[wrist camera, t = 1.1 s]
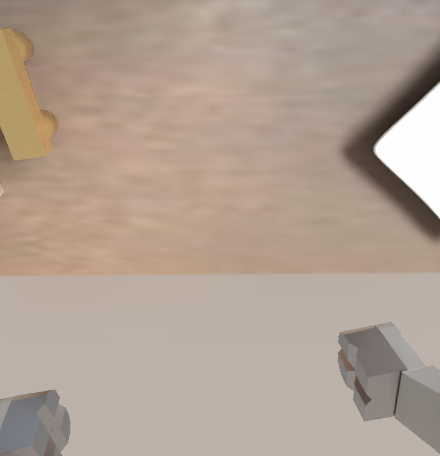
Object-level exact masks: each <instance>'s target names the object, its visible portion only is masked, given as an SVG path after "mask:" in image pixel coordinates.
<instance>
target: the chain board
mask: <svg viewBox="0 0 440 456" xmlns="http://www.w3.org/2000/svg"><path fill="white" fill-rule="evenodd" d="M3 193H4V190H3V188H2V185H1V183H0V196H1V195H2V194H3Z"/></svg>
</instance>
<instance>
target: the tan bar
mask: <svg viewBox="0 0 440 456" xmlns="http://www.w3.org/2000/svg"><path fill="white" fill-rule="evenodd" d="M32 55H33V46H32V43H31V41H30V40H29V38H28V37H27V36H26V35H24V34H23V33H21V32H18V31H13V30H12V28H6V29H0V127H1V130H2V132H3V135H4V137H5V139H6V142H7V144H8V147H9V149H10V152H11V154H12V157H13V159H14V161H17V160H23V159H30V158H37V157H43V156H47V155H48V153H49V152H50V151H51V150H52V149H53V146H52V143H51V140H50V138H51V137H52V136H53V135H54V133H55V132H56V131H57V129H58V122H57V119H56V118H55V116H54V115H53V114H51V113H50V112H48V111H45V110H40V108H39V105H38V102H37V99H36V96H35V93H34V91H33V88H32V85H31V82H30V79H29V76H28V73H27V70H26V67H25V64H24V62H26V61H28V60H29V59H30V58H31V57H32Z"/></svg>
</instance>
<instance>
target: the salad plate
mask: <svg viewBox="0 0 440 456" xmlns="http://www.w3.org/2000/svg"><path fill="white" fill-rule="evenodd" d="M373 152H374V154H375V155H376V156H377V158H378V159H379V160H380V161H381V162H382V163H383V164H384V165H385V166H386V167H388V168H389V169H390V170H391V171H392V172H393V173H394V174H395V175H396V176H397V177H398V178H400V179H401V180H402V181H403V182H404V183H405V184H406V185H407V186H408V187H409V188H410V189H411V190H412V191H413V192H414V193H415V194H416V195H417V196H418V197H419V198H420V199H421V200H422V201H423V202H424V203H425V204H426V205H427V206H428V207H429V208H430V209H431V210H432V211H433V212H434V213H435V215H436V216H437V217H438V218H439V219H440V81H439V82H438V83H437V84H436V85H435V86H434V87H433V88H432V89H431V90H430V91H429V92H428V93H427V94H426V95H425V96H424V97H423V98H422V99H421V100H420V101H419V102H417V103H416V104H415V105H414V106H413V107H412V108H411V109H410V110H409V111H408V112H407V113H406V114H405V115H403V116H402V117H401V118H400V119H399V120H398V121H397V122H396V123H395V124H394V125H392V126H391V127H390V128H389V129H388V130H387V131H386V132H385V133H384V134H383V135H382V136H381V137H380V138H379V139H378V141H377V142H376V143H375V145H374V147H373Z"/></svg>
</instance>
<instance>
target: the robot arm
mask: <svg viewBox="0 0 440 456" xmlns="http://www.w3.org/2000/svg"><path fill="white" fill-rule="evenodd" d="M338 342H339V344H340V346H341V348H342V349H341V350H340V351H339V353H338V362H339V368H340V372H341V375H342V377H343V379H344V382H345V384H346V385H347V387H349V388H350V389H352V390H353V391H354V397H353V400H354V402H355V404H356V406H357V408H358V410H359V412H360V414H361V416H362V418H363V420H364V421H369V420H375V419H380V418H386V417H392V416H395V418H396V419H397V420H398V421H399V422H401V423H402V424H403V425H405V426H406V427H407V428H408V429H409V430H411V431H412V432H413V433H415V434H416V435H417V436H418V437H420V438H421V439H422V440H423V441H425V442H426V443H427V444H428V445H430V446H431V447H432V448H434V449H435V450H436V451H437V452H438V453H440V370H439V369H437V368H436V367H434V366H426V365H425V364H424V362H423V361H422V360H421V358H420V357H419V356H418V354H417V353H416V352H415V350H414V349H413V348H412V347H411V345H410V344H409V343H408V341H407V340H406V339H405V337H404V336H403V335H402V333H401V332H400V331H399V329H398V328H397V327H396V325H395V324H393V323H392V322H390V323H385V324H380V325H375V326H369V327H364V328H360V329H354V330H350V331H345V332H340V334H339V340H338ZM59 399H60V397H59V395H58V393H57V392H56V390H49V391H43V392H37V393H31V394H25V395H20V396H15V397H9V398H4V399H0V456H62V454H61V453H60V452H61V451H62V449H63V448H64V447H65V446H66V445H67V443H68V440H69V435H70V418H69V414H68V412H67V410H66V408H65V407H63V406H61V405H59V404H58V403H59Z"/></svg>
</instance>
